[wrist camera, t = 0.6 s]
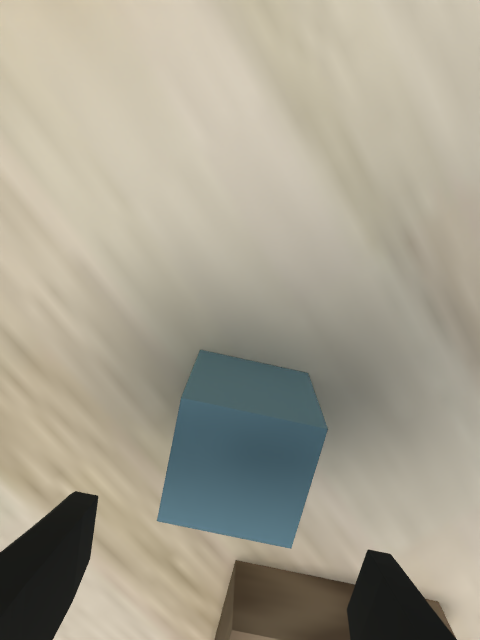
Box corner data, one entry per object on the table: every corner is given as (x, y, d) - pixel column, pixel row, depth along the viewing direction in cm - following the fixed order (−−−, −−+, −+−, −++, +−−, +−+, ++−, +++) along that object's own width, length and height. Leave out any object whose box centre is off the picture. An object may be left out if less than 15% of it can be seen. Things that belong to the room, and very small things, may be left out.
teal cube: (307, 372, 18) (327, 428, 13) (281, 465, 19) (291, 548, 14) (200, 349, 18) (181, 397, 13) (181, 444, 19) (156, 521, 14)
